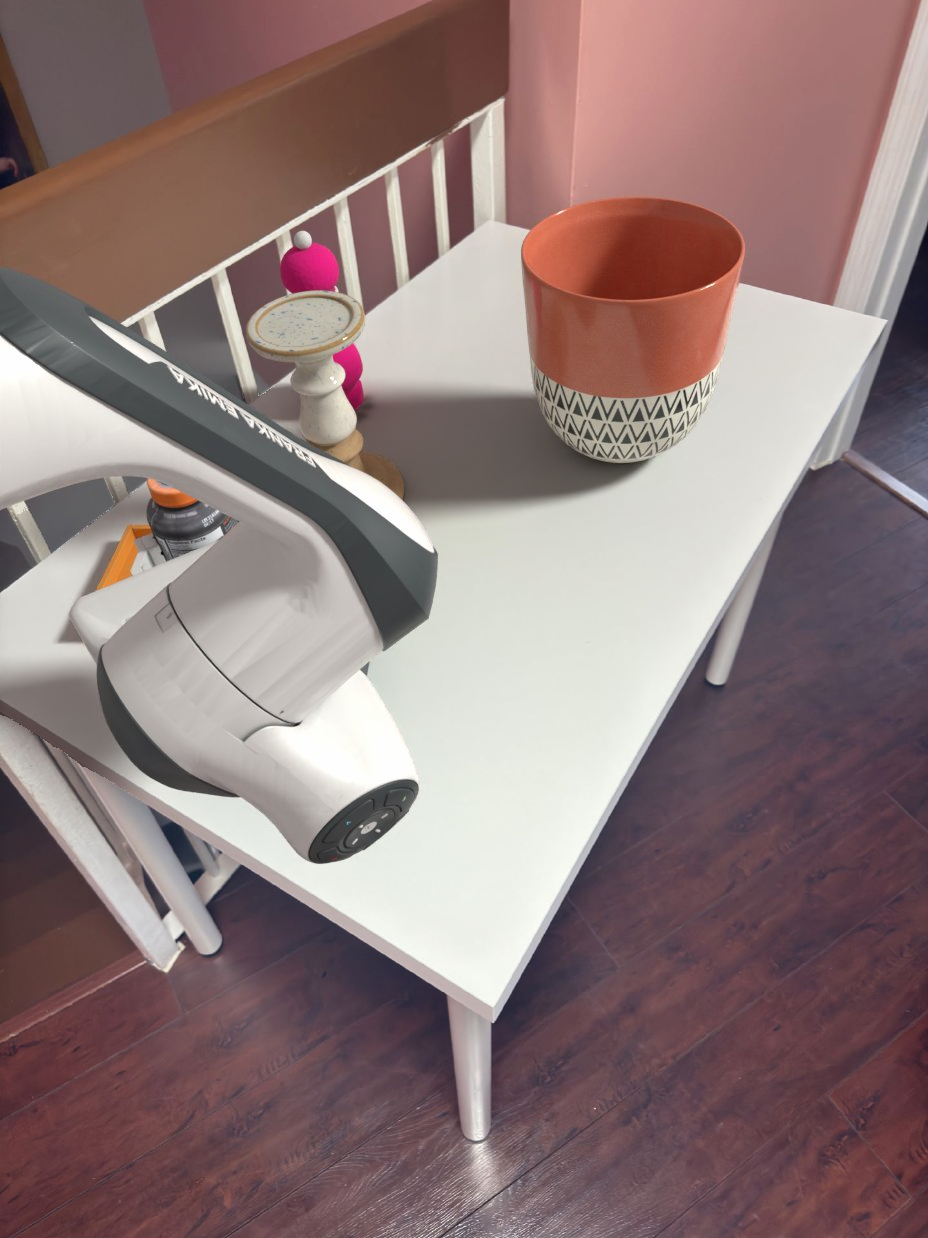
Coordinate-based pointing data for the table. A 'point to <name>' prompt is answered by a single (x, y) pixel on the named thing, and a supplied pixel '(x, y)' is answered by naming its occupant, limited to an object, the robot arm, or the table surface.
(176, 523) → the pill bottle
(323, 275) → the pepper mill
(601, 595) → the table surface
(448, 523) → the table surface
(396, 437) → the table surface
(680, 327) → the planter
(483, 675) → the table surface
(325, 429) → the candle holder
